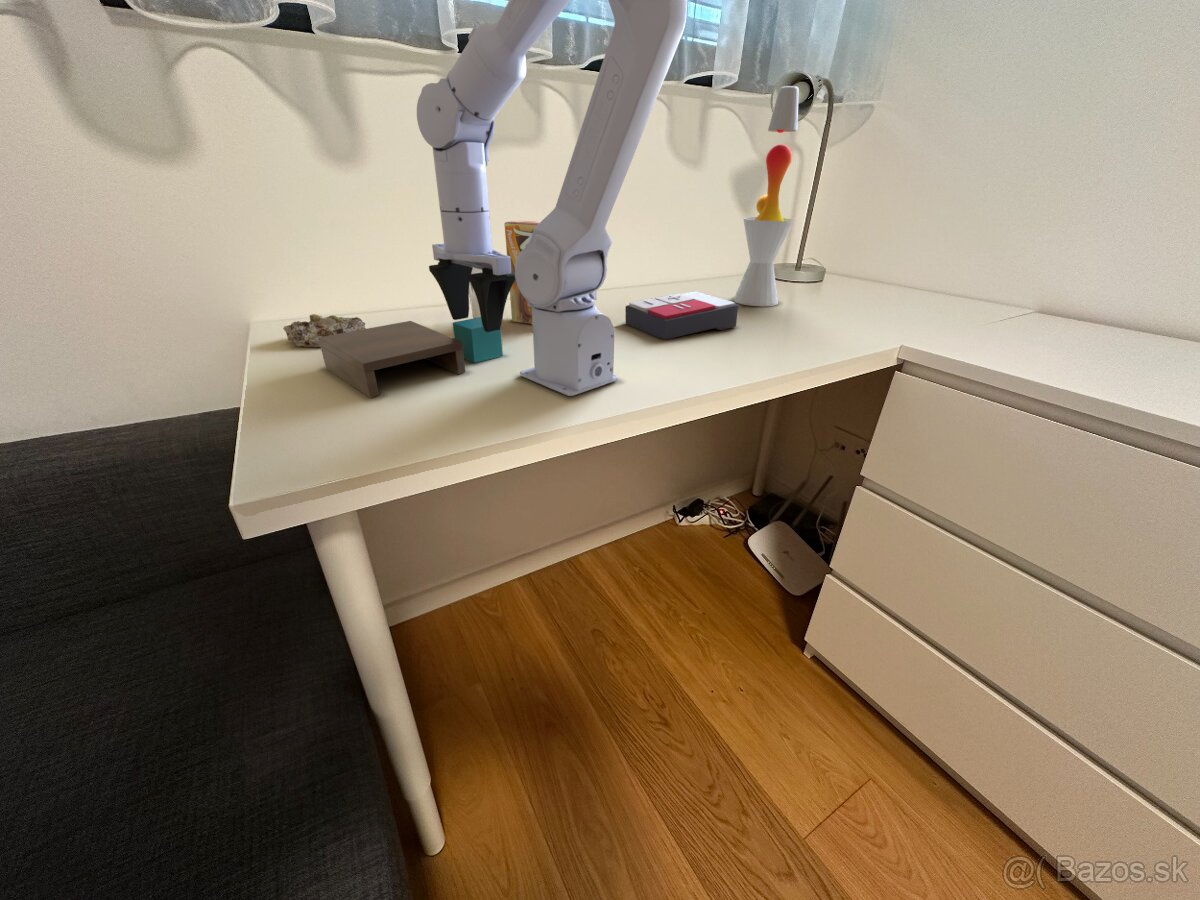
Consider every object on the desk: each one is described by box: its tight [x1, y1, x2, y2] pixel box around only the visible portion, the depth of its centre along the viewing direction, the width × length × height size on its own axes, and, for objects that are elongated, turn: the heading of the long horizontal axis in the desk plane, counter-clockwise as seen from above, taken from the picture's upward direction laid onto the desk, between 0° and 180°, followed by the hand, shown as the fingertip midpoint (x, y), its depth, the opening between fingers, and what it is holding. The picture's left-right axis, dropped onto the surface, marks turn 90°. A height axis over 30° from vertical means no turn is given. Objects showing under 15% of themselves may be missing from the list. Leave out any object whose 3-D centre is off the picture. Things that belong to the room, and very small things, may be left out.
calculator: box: [625, 291, 739, 341], centre depth 84 cm, size 11×4×15 cm
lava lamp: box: [732, 85, 800, 307], centre depth 93 cm, size 9×9×35 cm
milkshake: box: [469, 268, 482, 319], centre depth 79 cm, size 5×5×10 cm
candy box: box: [503, 220, 541, 325], centre depth 81 cm, size 9×4×15 cm, turn 67°
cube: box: [452, 317, 504, 364], centre depth 68 cm, size 4×4×4 cm
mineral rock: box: [283, 313, 367, 348], centre depth 74 cm, size 11×4×8 cm
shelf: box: [318, 320, 466, 399], centre depth 63 cm, size 13×12×4 cm
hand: (476, 324), depth 67 cm, fingers open, 7 cm apart
